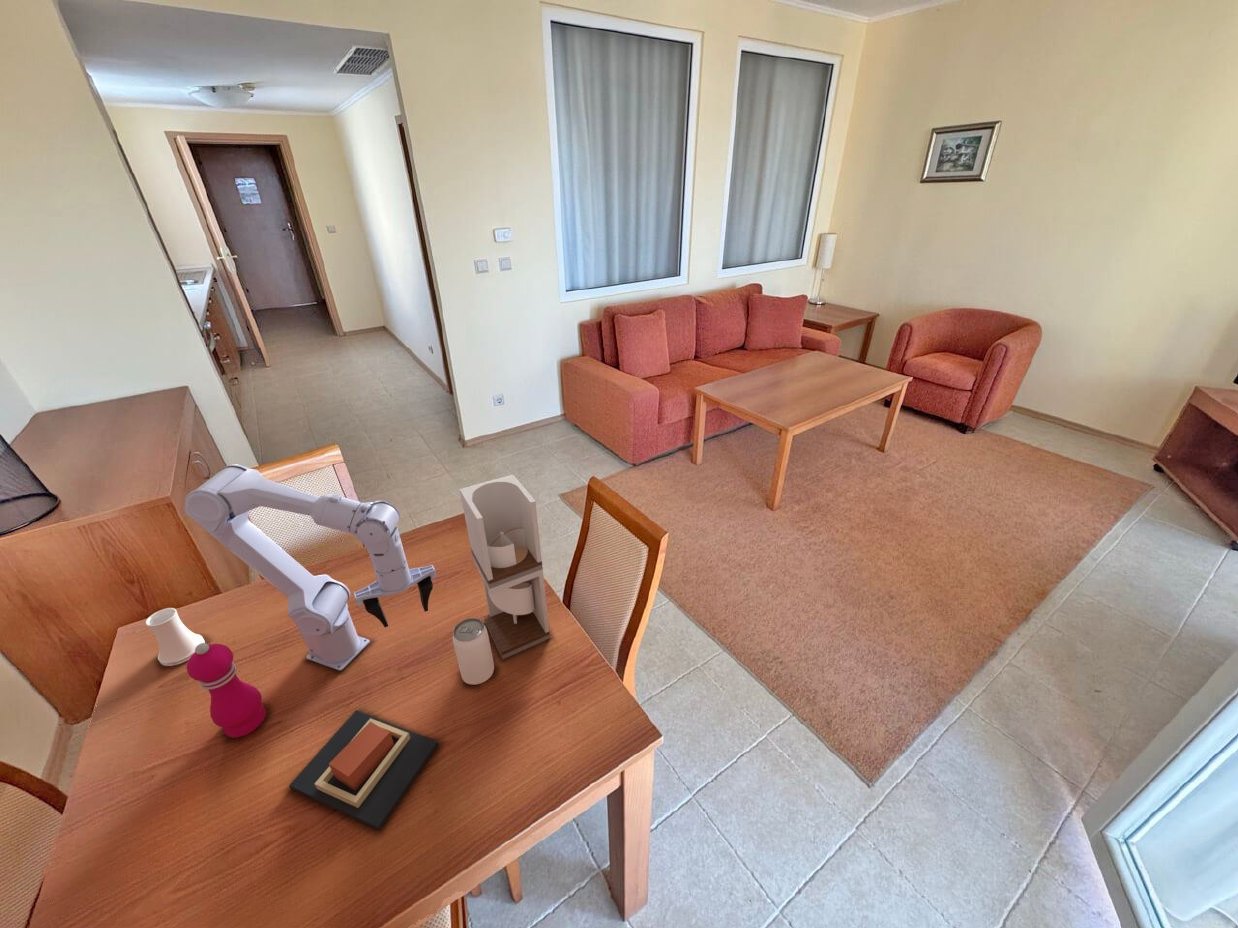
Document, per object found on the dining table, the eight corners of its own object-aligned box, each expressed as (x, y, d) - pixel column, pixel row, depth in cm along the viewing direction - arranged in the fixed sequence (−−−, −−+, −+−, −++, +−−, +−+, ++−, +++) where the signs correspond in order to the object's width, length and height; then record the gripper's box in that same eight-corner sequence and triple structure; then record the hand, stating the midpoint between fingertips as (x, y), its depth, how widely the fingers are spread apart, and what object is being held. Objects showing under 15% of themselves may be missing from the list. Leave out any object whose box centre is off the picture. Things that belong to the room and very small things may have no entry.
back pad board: (290, 788, 80) (285, 780, 79) (357, 713, 91) (353, 704, 90) (379, 830, 74) (375, 822, 73) (438, 744, 86) (436, 735, 85)
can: (486, 688, 95) (476, 645, 90) (455, 683, 97) (444, 639, 91) (499, 661, 101) (491, 618, 95) (470, 656, 102) (460, 613, 96)
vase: (160, 672, 100) (136, 637, 95) (159, 649, 105) (136, 615, 100) (206, 652, 104) (186, 617, 99) (203, 631, 109) (183, 597, 104)
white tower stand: (485, 623, 110) (459, 489, 93) (530, 604, 115) (513, 474, 98) (502, 659, 101) (477, 518, 85) (550, 638, 106) (535, 501, 89)
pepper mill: (278, 710, 92) (237, 633, 82) (241, 746, 86) (192, 668, 76) (250, 698, 94) (206, 623, 84) (212, 733, 88) (160, 656, 78)
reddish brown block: (335, 778, 80) (328, 763, 78) (376, 735, 86) (370, 721, 84) (355, 791, 78) (348, 776, 76) (395, 746, 85) (389, 732, 83)
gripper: (424, 539, 99) (436, 589, 106) (344, 565, 93) (363, 617, 99) (433, 558, 94) (446, 610, 101) (349, 587, 87) (369, 641, 94)
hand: (405, 615), depth 100 cm, fingers open, 7 cm apart
